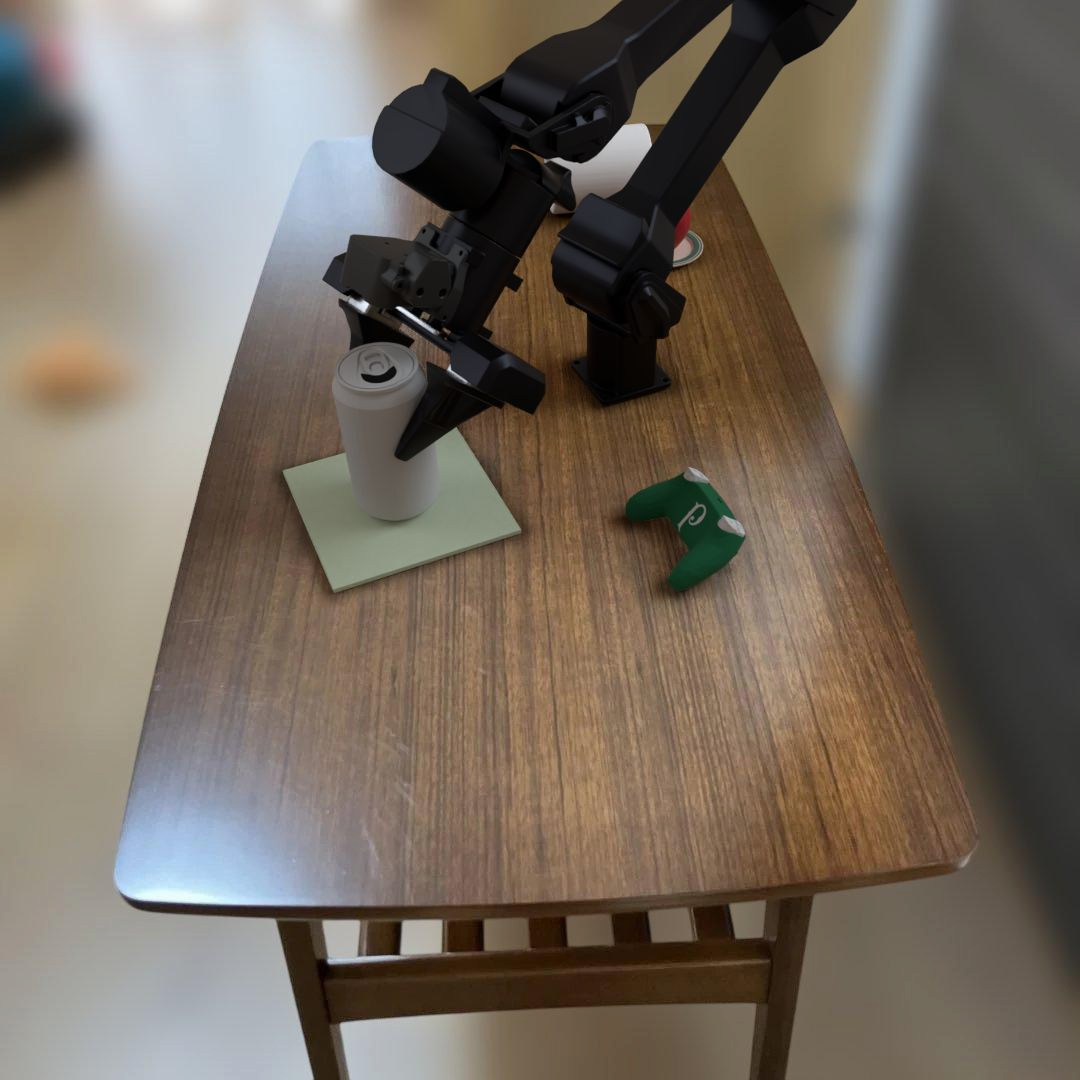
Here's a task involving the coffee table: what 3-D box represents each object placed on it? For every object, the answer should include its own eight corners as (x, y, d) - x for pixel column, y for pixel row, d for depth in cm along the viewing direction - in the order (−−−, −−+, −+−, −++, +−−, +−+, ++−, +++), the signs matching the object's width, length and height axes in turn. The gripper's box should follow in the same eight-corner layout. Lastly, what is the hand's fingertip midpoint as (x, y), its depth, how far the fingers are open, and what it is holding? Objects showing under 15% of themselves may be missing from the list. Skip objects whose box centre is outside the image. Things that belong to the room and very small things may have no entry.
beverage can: (367, 537, 80) (339, 403, 72) (347, 482, 85) (319, 350, 76) (452, 514, 82) (435, 379, 73) (428, 461, 86) (409, 329, 78)
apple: (709, 269, 106) (714, 205, 102) (625, 274, 106) (627, 210, 101) (695, 228, 112) (700, 166, 107) (615, 232, 112) (617, 170, 107)
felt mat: (521, 533, 81) (521, 529, 80) (333, 593, 77) (333, 589, 77) (453, 425, 90) (453, 421, 90) (283, 474, 86) (282, 470, 86)
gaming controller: (702, 608, 77) (764, 549, 75) (668, 591, 75) (732, 529, 73) (648, 523, 84) (704, 467, 82) (615, 505, 81) (672, 446, 79)
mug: (652, 219, 113) (655, 143, 108) (554, 228, 113) (553, 152, 107) (630, 167, 122) (632, 94, 117) (540, 175, 121) (537, 102, 116)
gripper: (322, 139, 74) (213, 344, 77) (502, 240, 64) (368, 475, 66) (430, 209, 83) (329, 391, 86) (602, 308, 73) (481, 511, 75)
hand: (371, 436), depth 78 cm, fingers closed on beverage can, 6 cm apart
